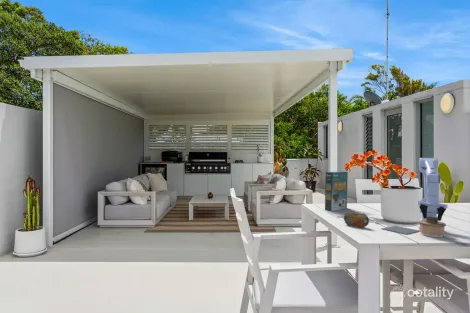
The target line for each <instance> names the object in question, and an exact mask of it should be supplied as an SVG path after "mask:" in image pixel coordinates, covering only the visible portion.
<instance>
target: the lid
mask: <svg viewBox="0 0 470 313" xmlns="http://www.w3.org/2000/svg"><path fill="white" fill-rule="evenodd" d="M437 217H438V216H437ZM437 217H431V216H429V217H427V218H426V220H422V219H421V220H418V224H419V225H420V224H422V225H427V226H434V227H444V228H445V227H446V225H447V224H446V223H445V222H442V221H438V218H437Z"/></svg>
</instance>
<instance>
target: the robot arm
mask: <svg viewBox="0 0 470 313" xmlns="http://www.w3.org/2000/svg"><path fill="white" fill-rule="evenodd" d="M438 166H439V159H438V157H420V158H419V159H418V167H419V168H418V169H419V172H420V173H421V174H422V175H423V188H424V191H423V192H424V197H423V198H421V199H420V200H419V201H418V203H417V204H418V205H417V206H418V209H419V213H420V214H421V220H426V218H427V217H429V216H431V217H437V218H438V222H442V219H443V216H444V213H445V212H446V211H447V209H448V204H446V203H440V201H439V200H440V199H439V195H440V192H439V191H440V184H441V173H438ZM418 229H420V226H419V227H418Z"/></svg>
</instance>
